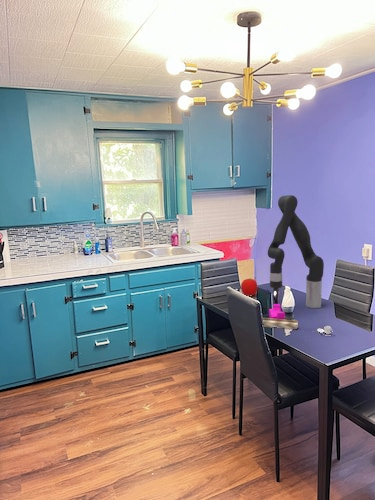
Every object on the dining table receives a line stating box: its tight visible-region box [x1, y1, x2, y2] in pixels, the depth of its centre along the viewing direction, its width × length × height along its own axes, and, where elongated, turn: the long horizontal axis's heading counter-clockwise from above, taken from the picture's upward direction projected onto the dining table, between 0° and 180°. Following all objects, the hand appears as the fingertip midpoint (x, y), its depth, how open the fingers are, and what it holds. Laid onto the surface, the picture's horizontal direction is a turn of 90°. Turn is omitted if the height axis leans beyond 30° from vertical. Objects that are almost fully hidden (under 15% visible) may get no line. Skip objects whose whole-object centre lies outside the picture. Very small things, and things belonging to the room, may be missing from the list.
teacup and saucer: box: [316, 325, 333, 335], centre depth 197 cm, size 9×8×4 cm
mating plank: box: [262, 317, 299, 330], centre depth 209 cm, size 20×4×4 cm, turn 69°
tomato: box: [240, 278, 258, 297], centre depth 265 cm, size 12×12×13 cm
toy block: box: [268, 303, 286, 320], centre depth 218 cm, size 15×6×8 cm, turn 178°
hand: (276, 306), depth 232 cm, fingers closed
